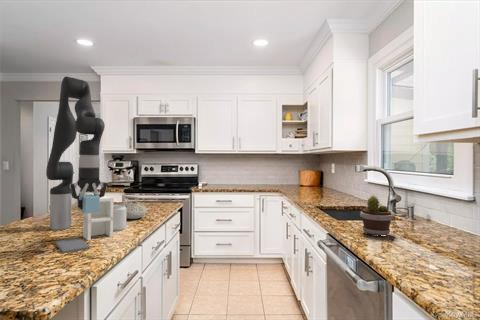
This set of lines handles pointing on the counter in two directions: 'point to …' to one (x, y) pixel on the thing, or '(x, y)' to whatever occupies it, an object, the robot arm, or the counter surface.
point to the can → (119, 217)
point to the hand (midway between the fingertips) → (88, 208)
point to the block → (90, 203)
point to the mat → (71, 245)
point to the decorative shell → (134, 209)
